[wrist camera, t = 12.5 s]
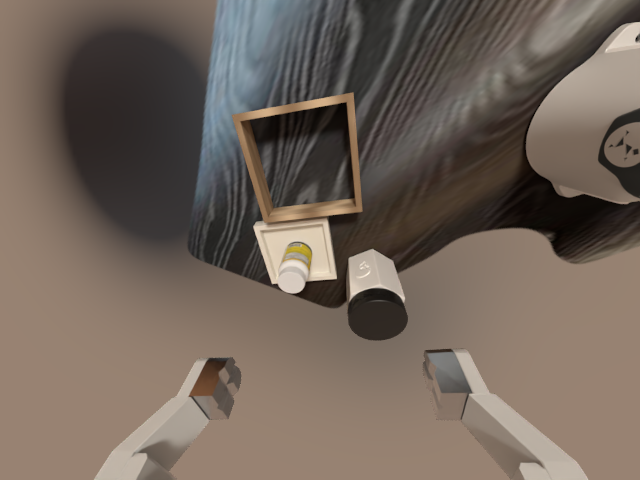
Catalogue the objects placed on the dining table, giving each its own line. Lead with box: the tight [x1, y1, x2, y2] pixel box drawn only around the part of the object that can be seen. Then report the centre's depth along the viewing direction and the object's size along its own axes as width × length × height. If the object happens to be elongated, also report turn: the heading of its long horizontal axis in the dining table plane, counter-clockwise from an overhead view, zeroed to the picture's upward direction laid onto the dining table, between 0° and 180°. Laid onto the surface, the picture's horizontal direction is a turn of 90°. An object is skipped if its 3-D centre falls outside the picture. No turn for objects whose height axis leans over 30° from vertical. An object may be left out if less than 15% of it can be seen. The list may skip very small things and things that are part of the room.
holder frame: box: [232, 93, 362, 223], centre depth 33 cm, size 15×15×4 cm
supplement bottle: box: [278, 241, 312, 293], centre depth 38 cm, size 5×5×8 cm
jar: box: [346, 249, 408, 340], centre depth 38 cm, size 9×8×12 cm
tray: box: [253, 216, 337, 284], centre depth 41 cm, size 12×12×2 cm
